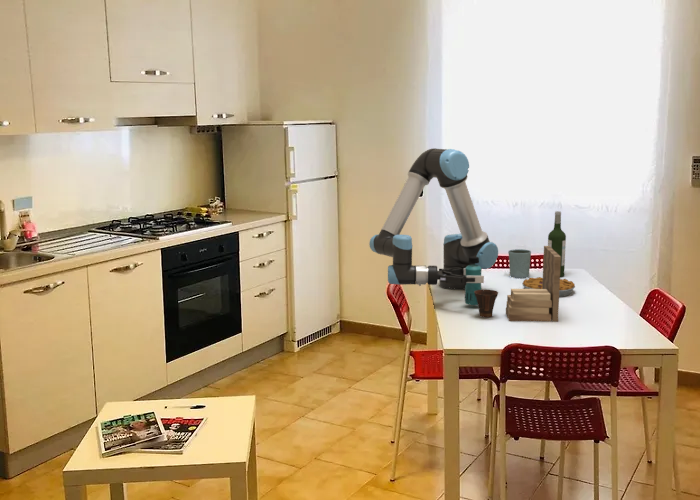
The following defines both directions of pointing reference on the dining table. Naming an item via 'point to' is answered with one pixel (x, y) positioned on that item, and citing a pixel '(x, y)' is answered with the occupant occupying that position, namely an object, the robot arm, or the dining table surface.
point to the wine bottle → (558, 241)
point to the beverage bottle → (471, 287)
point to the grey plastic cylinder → (519, 263)
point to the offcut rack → (538, 294)
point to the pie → (537, 283)
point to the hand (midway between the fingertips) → (482, 275)
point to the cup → (485, 301)
